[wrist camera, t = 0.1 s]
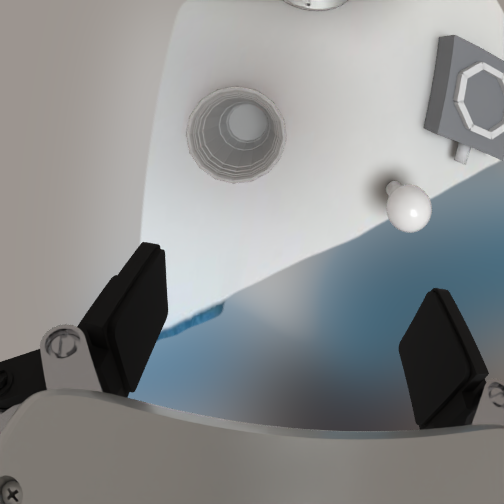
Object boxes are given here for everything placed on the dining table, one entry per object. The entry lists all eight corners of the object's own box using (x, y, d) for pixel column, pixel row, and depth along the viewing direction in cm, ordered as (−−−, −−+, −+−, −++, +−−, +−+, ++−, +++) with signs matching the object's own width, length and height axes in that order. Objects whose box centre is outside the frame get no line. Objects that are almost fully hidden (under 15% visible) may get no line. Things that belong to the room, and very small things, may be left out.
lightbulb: (371, 206, 46) (390, 241, 37) (374, 167, 43) (397, 193, 34) (408, 207, 45) (433, 241, 36) (413, 169, 42) (442, 196, 33)
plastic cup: (300, 105, 40) (304, 114, 29) (266, 169, 45) (259, 199, 35) (229, 72, 38) (208, 71, 28) (199, 138, 44) (171, 159, 34)
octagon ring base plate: (439, 37, 30) (458, 34, 25) (503, 69, 30) (525, 72, 25) (419, 146, 40) (435, 157, 35) (482, 168, 40) (501, 181, 34)
